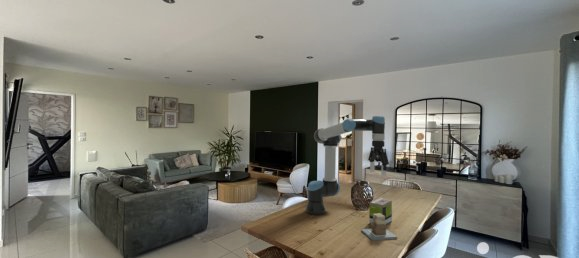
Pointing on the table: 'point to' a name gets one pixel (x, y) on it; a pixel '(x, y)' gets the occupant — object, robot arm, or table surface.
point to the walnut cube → (379, 229)
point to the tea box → (381, 209)
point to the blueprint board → (378, 237)
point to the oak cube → (379, 219)
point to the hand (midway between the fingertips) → (377, 173)
